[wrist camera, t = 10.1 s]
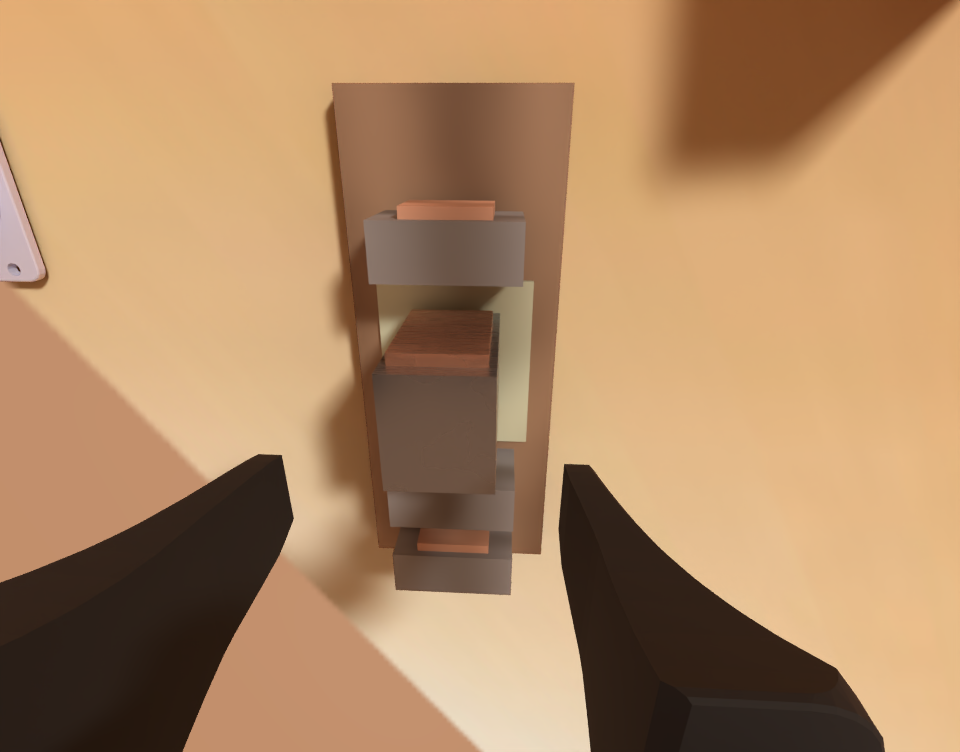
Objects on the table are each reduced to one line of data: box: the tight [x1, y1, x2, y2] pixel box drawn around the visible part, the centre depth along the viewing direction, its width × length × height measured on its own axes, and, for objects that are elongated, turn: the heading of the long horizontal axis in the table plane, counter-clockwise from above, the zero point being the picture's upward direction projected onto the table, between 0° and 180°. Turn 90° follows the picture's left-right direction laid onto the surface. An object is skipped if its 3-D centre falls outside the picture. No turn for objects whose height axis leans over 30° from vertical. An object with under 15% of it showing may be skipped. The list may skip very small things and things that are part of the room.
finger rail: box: [332, 83, 574, 595], centre depth 19 cm, size 8×20×4 cm, turn 0°
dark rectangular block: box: [372, 309, 500, 495], centre depth 17 cm, size 4×4×6 cm
